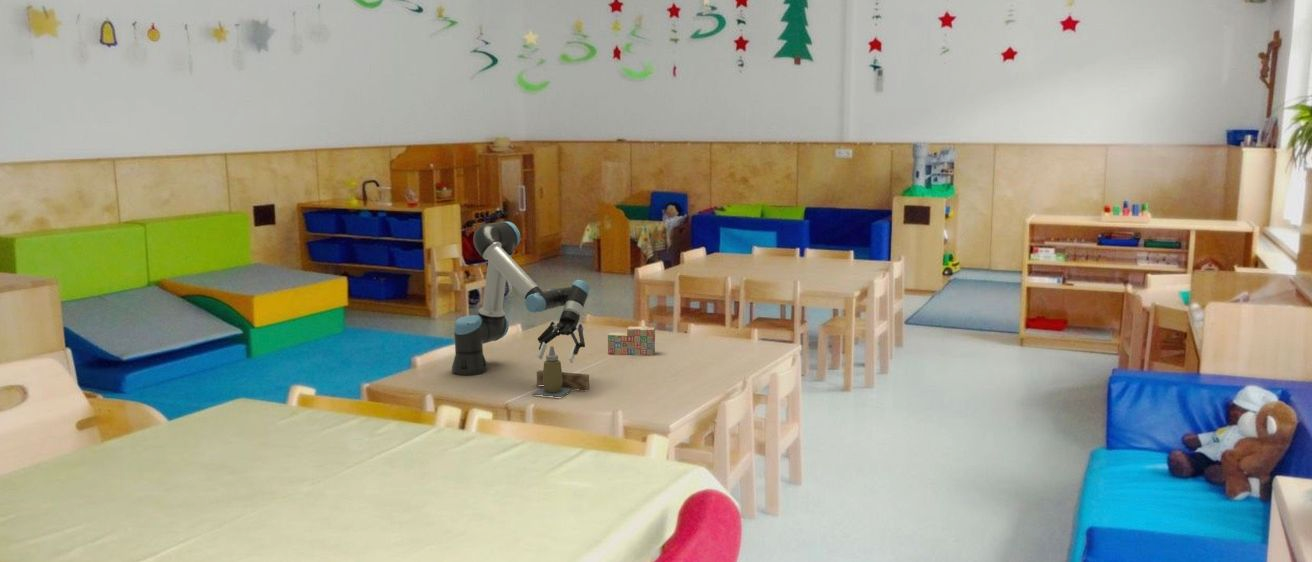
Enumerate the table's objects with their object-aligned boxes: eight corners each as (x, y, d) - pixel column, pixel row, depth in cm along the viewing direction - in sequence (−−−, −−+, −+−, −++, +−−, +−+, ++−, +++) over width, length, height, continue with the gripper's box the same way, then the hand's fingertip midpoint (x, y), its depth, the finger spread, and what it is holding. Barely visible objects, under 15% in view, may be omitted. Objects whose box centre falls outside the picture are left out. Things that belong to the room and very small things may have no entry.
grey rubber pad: (560, 398, 379) (560, 396, 379) (532, 396, 383) (532, 393, 383) (573, 390, 390) (573, 388, 390) (546, 388, 394) (546, 385, 394)
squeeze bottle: (553, 394, 381) (552, 349, 378) (538, 391, 386) (537, 347, 383) (567, 390, 387) (566, 346, 384) (552, 387, 392) (551, 343, 389)
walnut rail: (589, 389, 392) (589, 374, 391) (586, 391, 389) (586, 376, 388) (540, 384, 400) (539, 370, 399) (536, 386, 397) (536, 371, 396)
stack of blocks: (607, 354, 451) (607, 328, 449) (610, 351, 457) (609, 325, 455) (653, 355, 448) (653, 329, 446) (655, 352, 454) (655, 326, 452)
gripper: (601, 322, 395) (586, 366, 384) (546, 317, 404) (530, 361, 393) (596, 311, 389) (580, 357, 378) (540, 307, 398) (523, 351, 387)
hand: (555, 359), depth 385 cm, fingers open, 13 cm apart
